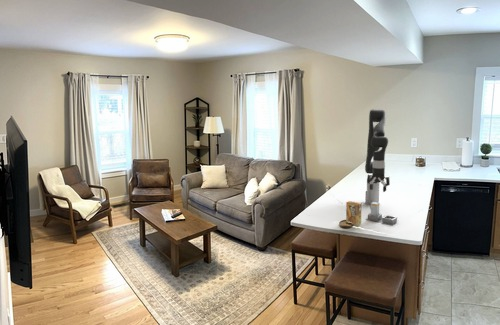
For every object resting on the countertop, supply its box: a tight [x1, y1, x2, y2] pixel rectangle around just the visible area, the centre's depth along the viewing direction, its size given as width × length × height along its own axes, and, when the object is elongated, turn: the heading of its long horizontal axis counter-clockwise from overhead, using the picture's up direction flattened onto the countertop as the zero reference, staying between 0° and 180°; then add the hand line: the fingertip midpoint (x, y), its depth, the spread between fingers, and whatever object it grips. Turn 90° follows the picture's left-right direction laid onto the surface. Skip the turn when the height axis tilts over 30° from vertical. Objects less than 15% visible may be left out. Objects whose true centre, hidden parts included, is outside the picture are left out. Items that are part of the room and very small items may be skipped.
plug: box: [370, 202, 380, 216], centre depth 232 cm, size 4×4×11 cm
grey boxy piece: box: [365, 212, 399, 226], centre depth 230 cm, size 18×12×4 cm, turn 47°
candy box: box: [345, 200, 362, 228], centre depth 225 cm, size 9×4×15 cm, turn 50°
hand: (377, 190), depth 230 cm, fingers open, 8 cm apart
